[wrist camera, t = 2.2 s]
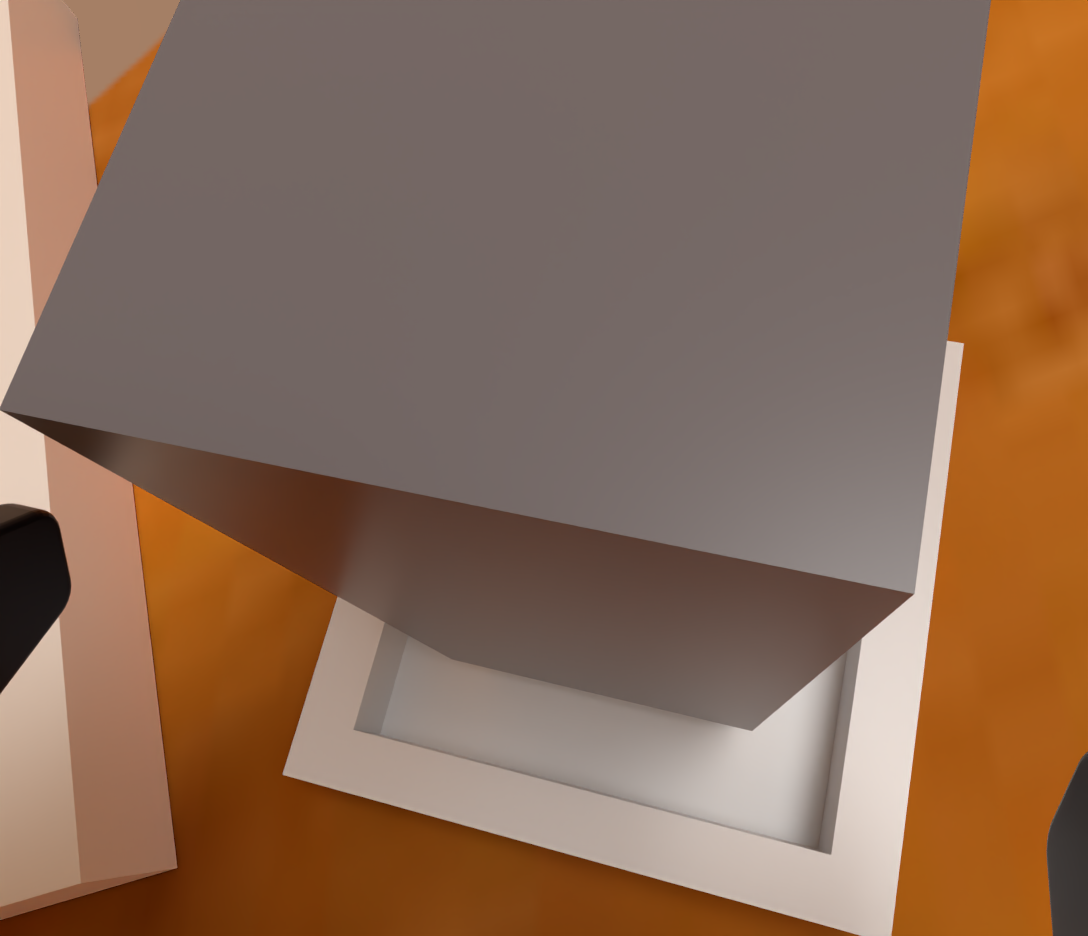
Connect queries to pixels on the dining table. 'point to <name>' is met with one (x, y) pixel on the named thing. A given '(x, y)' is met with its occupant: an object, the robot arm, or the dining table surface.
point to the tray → (649, 756)
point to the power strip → (68, 532)
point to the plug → (539, 319)
